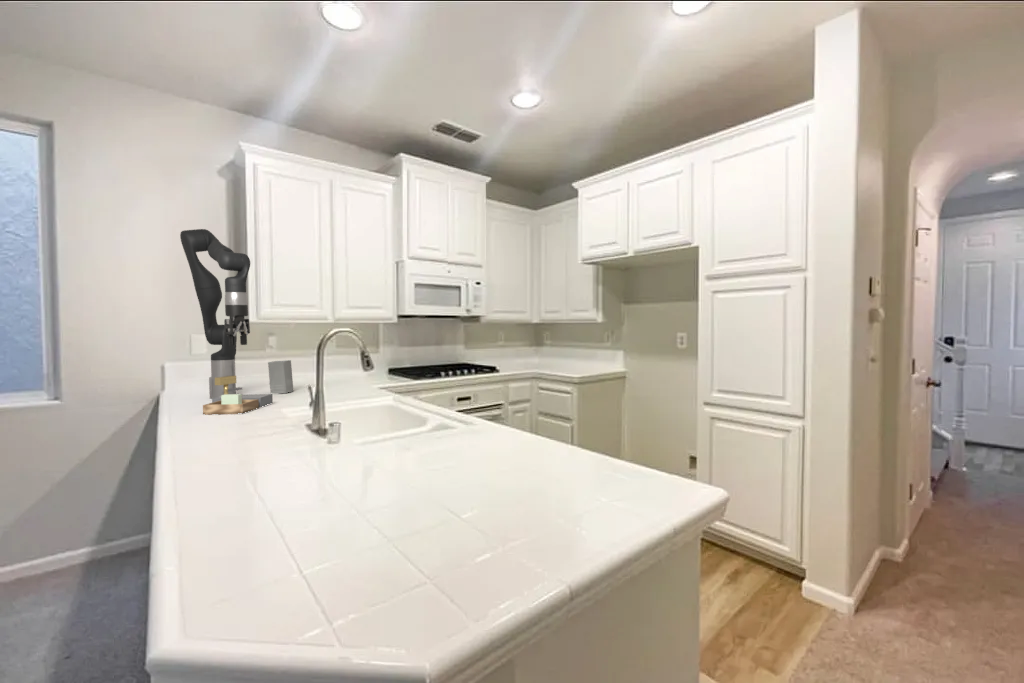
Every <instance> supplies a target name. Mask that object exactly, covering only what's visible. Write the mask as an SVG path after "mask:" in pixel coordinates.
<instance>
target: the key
mask: <svg viewBox="0 0 1024 683" xmlns="http://www.w3.org/2000/svg"><path fill="white" fill-rule="evenodd" d="M233 383H236V384H237V375H235V376H224V377H216V378H215V385H224V395H225V394H229V392H230V391H236V392H237V391H241V390H243V387H240V386H239V387H236V388H232V389H228V384H233Z"/></svg>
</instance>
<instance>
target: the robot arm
mask: <svg viewBox="0 0 1024 683" xmlns="http://www.w3.org/2000/svg"><path fill="white" fill-rule="evenodd" d="M179 235H180V242H181V245H182V248H183V252H184V255H185V257H186V259H187V263H188V266H189V269H190V274H191V276H192V282H193V287H194V289H195V293H196V297H197V301H198V304H199V307H200V312H201V317H202V321H203V323H202V325H203V330H204V335H205V339H206V341H207V343H209V344H210V345H212V346H221V348H220V349H219V350H218V351H215V352H213V353H211V354H210V370H211V371H210V372H211V373H210V374H211V375H210V377H208V385H209V388H208V389H209V392H208V393H209V399H213V398H217V397H220V396H221V395H224V385H215V378H216V377H224V376H236V354H237V339H238V338H237V337H238V336H237V333H239V334H240V337H239V338H240V340H239V342H240V345H241V346H246V345H248V334H250V333H251V330H250V329H251V327H250V319H249V318H245V317H248V316H249V306H248V295H247V279H248V275H249V272H250V271H249V270H250V267H251V258H250V257H249V255H247V254H246V253H242V252H241V253H240V252H234V251H233V249H231V248H230V247H228V246H226V245H225V244H223V243H221V242H220V240H219V239H218V238H217V237H216V236H215V234H213V233H212V232H211V231H210V230H208V229H206V228H198V229H187V230H181V231H180V234H179ZM202 252H207V253H208V256H209V257H210V258H211V259H212V260H213V261H215V262H216V263H217V264H218V266H219V268H220V269H221V270H224V271H230V272H231V271H233V272H234V271H235V272H236V274H235V276H227V277H225V279H224V307H225V308H224V309H225V310H224V311H225V316H226V317H229V318H225V319H224V322H223V323H224V324H218V321H217V311H218V309H219V306H220V304H221V301H222V299H223V293H222V287H221V284H220V282H219V281H220V280H219V279H218V278H217V277H216V276H215V275H214V274H213V273H212V272H211V271H210V270H208V269H207V268H206V267H205V266H204V265H203V263H202V262H201V261H200V259H199V256H198V254H197V253H202ZM236 384H237V382H236V383H233V384H228V389H232V388H237V387H236V386H237V385H236ZM229 394H237V390H236V391H230V392H229Z"/></svg>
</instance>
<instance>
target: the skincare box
mask: <svg viewBox="0 0 1024 683" xmlns="http://www.w3.org/2000/svg"><path fill="white" fill-rule="evenodd" d="M267 365H268V368H267V369H268V376H269V389H270V394H271V393H279V394H289V393H293V392H294V380H293V372H292V371H293V369H292V360H273V361H268V362H267ZM292 391H293V392H292ZM288 392H289V393H288Z"/></svg>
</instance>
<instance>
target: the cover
mask: <svg viewBox="0 0 1024 683" xmlns="http://www.w3.org/2000/svg"><path fill="white" fill-rule="evenodd" d="M242 395H243V394H242V393H236V394H225V395H221V404H242Z"/></svg>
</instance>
